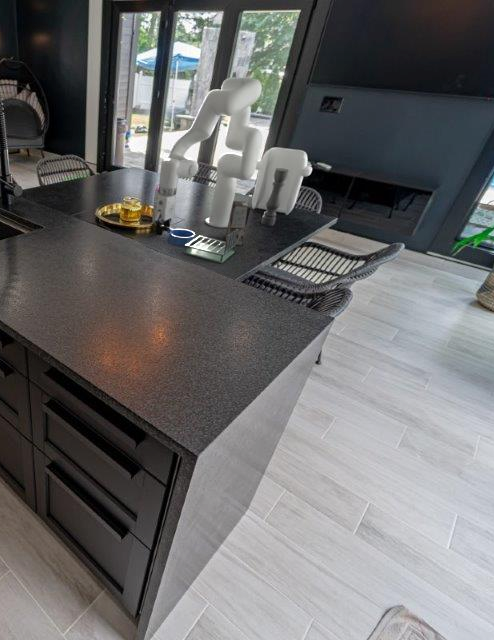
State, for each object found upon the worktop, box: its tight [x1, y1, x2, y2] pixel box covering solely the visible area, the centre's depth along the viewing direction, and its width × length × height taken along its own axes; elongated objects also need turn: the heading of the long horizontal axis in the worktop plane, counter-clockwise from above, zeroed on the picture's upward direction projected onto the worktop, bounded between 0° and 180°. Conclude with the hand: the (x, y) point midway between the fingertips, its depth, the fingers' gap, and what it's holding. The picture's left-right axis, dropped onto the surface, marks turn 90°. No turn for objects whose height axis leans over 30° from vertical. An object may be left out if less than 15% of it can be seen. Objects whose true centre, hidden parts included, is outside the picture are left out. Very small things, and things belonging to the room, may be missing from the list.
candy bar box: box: [151, 184, 162, 224], centre depth 190 cm, size 11×5×16 cm, turn 168°
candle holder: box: [260, 168, 289, 227], centre depth 190 cm, size 6×6×25 cm
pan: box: [150, 222, 196, 247], centre depth 176 cm, size 11×20×5 cm, turn 54°
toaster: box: [251, 146, 313, 216], centre depth 208 cm, size 27×11×30 cm, turn 58°
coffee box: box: [225, 200, 252, 246], centre depth 172 cm, size 9×6×16 cm
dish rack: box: [183, 229, 238, 264], centre depth 162 cm, size 14×16×10 cm
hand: (162, 232), depth 178 cm, fingers open, 5 cm apart
